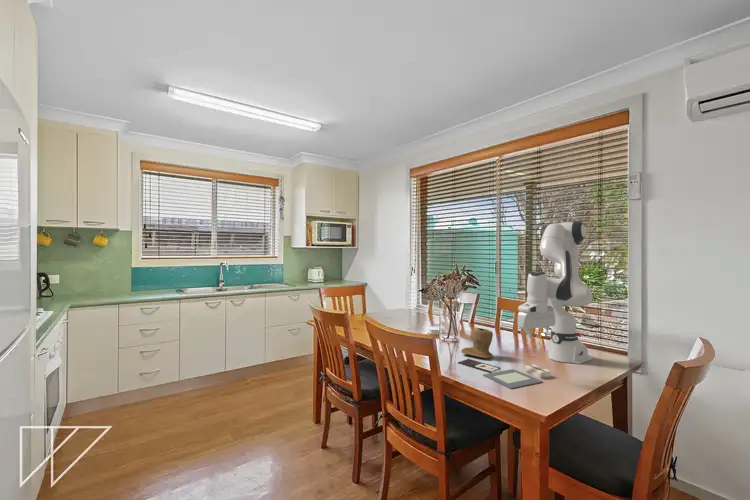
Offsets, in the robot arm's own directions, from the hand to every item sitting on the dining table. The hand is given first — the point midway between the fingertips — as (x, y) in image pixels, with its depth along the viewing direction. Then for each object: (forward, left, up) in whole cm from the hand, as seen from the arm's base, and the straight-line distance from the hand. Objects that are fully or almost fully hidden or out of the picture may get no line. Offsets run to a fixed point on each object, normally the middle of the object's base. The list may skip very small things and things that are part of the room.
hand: (536, 337), depth 165 cm
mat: (+15, 0, -17) cm, 23 cm away
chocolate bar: (+17, -20, -18) cm, 32 cm away
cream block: (0, 0, -18) cm, 18 cm away
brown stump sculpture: (+6, -33, -17) cm, 38 cm away
